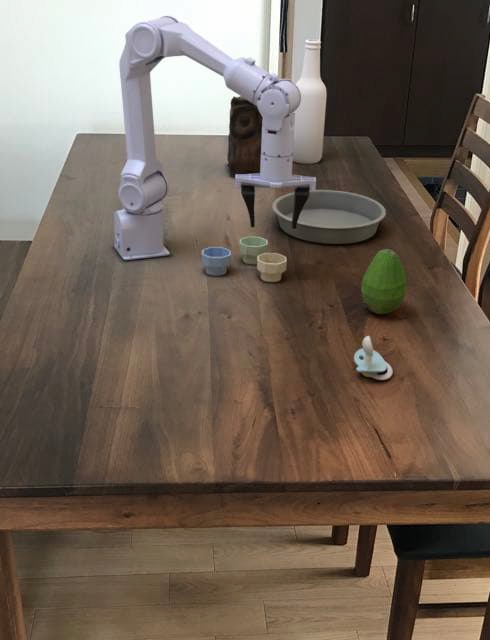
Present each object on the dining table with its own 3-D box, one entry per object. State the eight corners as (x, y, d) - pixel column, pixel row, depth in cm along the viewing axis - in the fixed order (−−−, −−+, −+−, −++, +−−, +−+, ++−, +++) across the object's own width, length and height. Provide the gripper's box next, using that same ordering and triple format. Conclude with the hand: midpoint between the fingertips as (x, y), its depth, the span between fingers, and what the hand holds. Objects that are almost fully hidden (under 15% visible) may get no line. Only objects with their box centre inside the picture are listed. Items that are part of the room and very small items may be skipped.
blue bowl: (201, 277, 170) (201, 257, 168) (202, 265, 175) (202, 246, 173) (230, 277, 170) (230, 258, 168) (230, 266, 175) (231, 247, 173)
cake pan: (355, 204, 209) (357, 185, 207) (403, 242, 190) (405, 221, 187) (256, 212, 202) (257, 192, 200) (295, 252, 183) (296, 231, 180)
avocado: (368, 323, 156) (376, 259, 149) (352, 304, 162) (358, 242, 156) (410, 319, 158) (419, 256, 151) (392, 301, 164) (401, 239, 158)
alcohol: (327, 158, 241) (336, 40, 225) (311, 166, 234) (320, 44, 218) (299, 152, 244) (306, 36, 229) (282, 160, 238) (289, 40, 222)
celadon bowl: (238, 265, 176) (239, 246, 174) (239, 254, 180) (239, 236, 178) (267, 266, 176) (268, 247, 174) (266, 255, 180) (267, 236, 178)
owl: (276, 167, 232) (280, 87, 222) (269, 182, 221) (273, 99, 211) (228, 163, 233) (230, 84, 223) (219, 178, 223) (221, 95, 212)
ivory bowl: (256, 283, 169) (257, 263, 166) (256, 271, 173) (257, 252, 171) (285, 284, 169) (287, 264, 167) (284, 272, 173) (286, 253, 171)
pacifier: (388, 362, 144) (351, 360, 144) (394, 327, 141) (356, 325, 141) (395, 385, 138) (356, 383, 138) (401, 349, 135) (362, 347, 134)
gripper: (235, 157, 155) (233, 232, 162) (319, 160, 155) (313, 235, 162) (236, 146, 161) (234, 219, 168) (316, 149, 161) (311, 221, 168)
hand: (273, 226), depth 166 cm, fingers open, 7 cm apart
